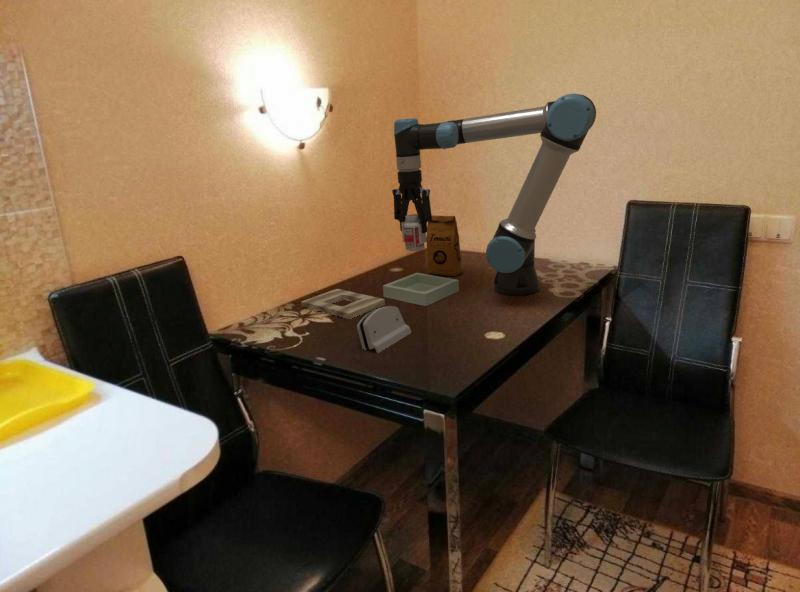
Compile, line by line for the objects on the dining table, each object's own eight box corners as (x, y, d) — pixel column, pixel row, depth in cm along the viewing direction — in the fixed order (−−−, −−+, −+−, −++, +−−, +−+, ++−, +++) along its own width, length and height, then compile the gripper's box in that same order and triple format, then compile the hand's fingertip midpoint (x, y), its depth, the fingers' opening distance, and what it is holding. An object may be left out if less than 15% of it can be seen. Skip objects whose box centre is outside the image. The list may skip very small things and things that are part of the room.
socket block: (384, 305, 189) (384, 299, 189) (349, 319, 178) (348, 313, 178) (337, 294, 203) (337, 288, 203) (301, 307, 192) (301, 301, 191)
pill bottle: (424, 246, 195) (421, 213, 192) (424, 250, 189) (422, 216, 186) (405, 247, 195) (402, 214, 192) (405, 251, 190) (402, 217, 186)
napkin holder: (377, 353, 153) (364, 317, 152) (364, 356, 156) (351, 320, 155) (412, 332, 166) (400, 298, 165) (399, 334, 169) (387, 302, 168)
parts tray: (458, 291, 199) (458, 279, 198) (425, 306, 186) (425, 294, 185) (417, 283, 210) (416, 272, 209) (383, 297, 198) (382, 285, 196)
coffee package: (455, 278, 213) (453, 218, 207) (424, 276, 219) (421, 217, 212) (465, 271, 222) (464, 213, 215) (435, 269, 227) (432, 212, 221)
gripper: (378, 171, 188) (384, 242, 195) (426, 171, 176) (431, 247, 183) (393, 168, 193) (399, 237, 200) (441, 168, 181) (445, 241, 188)
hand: (414, 241), depth 192 cm, fingers closed on pill bottle, 6 cm apart
